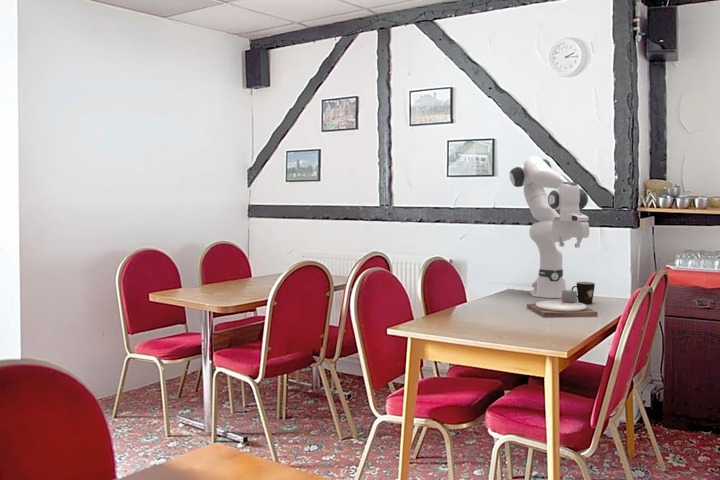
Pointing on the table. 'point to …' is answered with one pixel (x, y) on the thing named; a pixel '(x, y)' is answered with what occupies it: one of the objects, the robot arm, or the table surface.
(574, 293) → the dial
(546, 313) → the base
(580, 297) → the coffee mug
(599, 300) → the table surface
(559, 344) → the table surface
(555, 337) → the table surface
